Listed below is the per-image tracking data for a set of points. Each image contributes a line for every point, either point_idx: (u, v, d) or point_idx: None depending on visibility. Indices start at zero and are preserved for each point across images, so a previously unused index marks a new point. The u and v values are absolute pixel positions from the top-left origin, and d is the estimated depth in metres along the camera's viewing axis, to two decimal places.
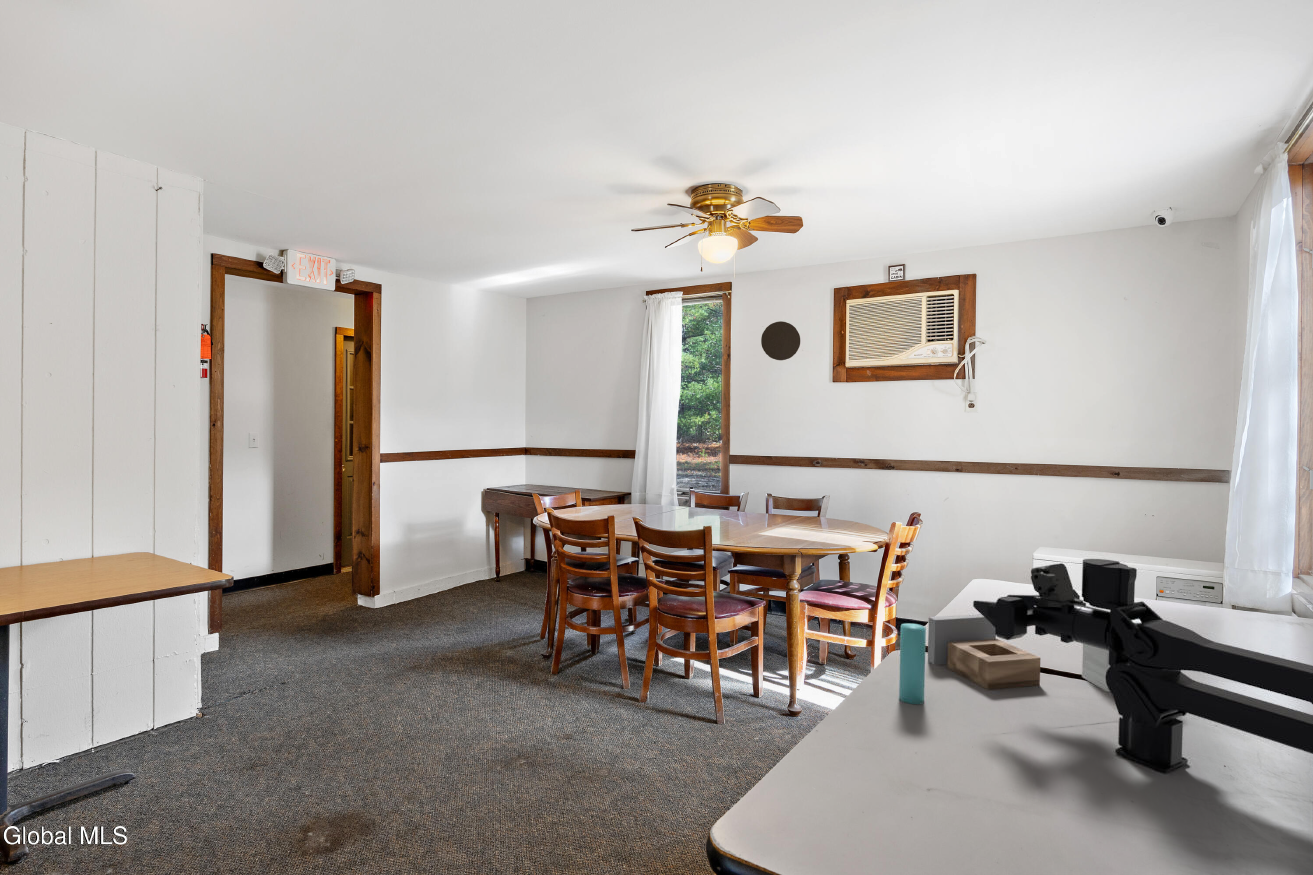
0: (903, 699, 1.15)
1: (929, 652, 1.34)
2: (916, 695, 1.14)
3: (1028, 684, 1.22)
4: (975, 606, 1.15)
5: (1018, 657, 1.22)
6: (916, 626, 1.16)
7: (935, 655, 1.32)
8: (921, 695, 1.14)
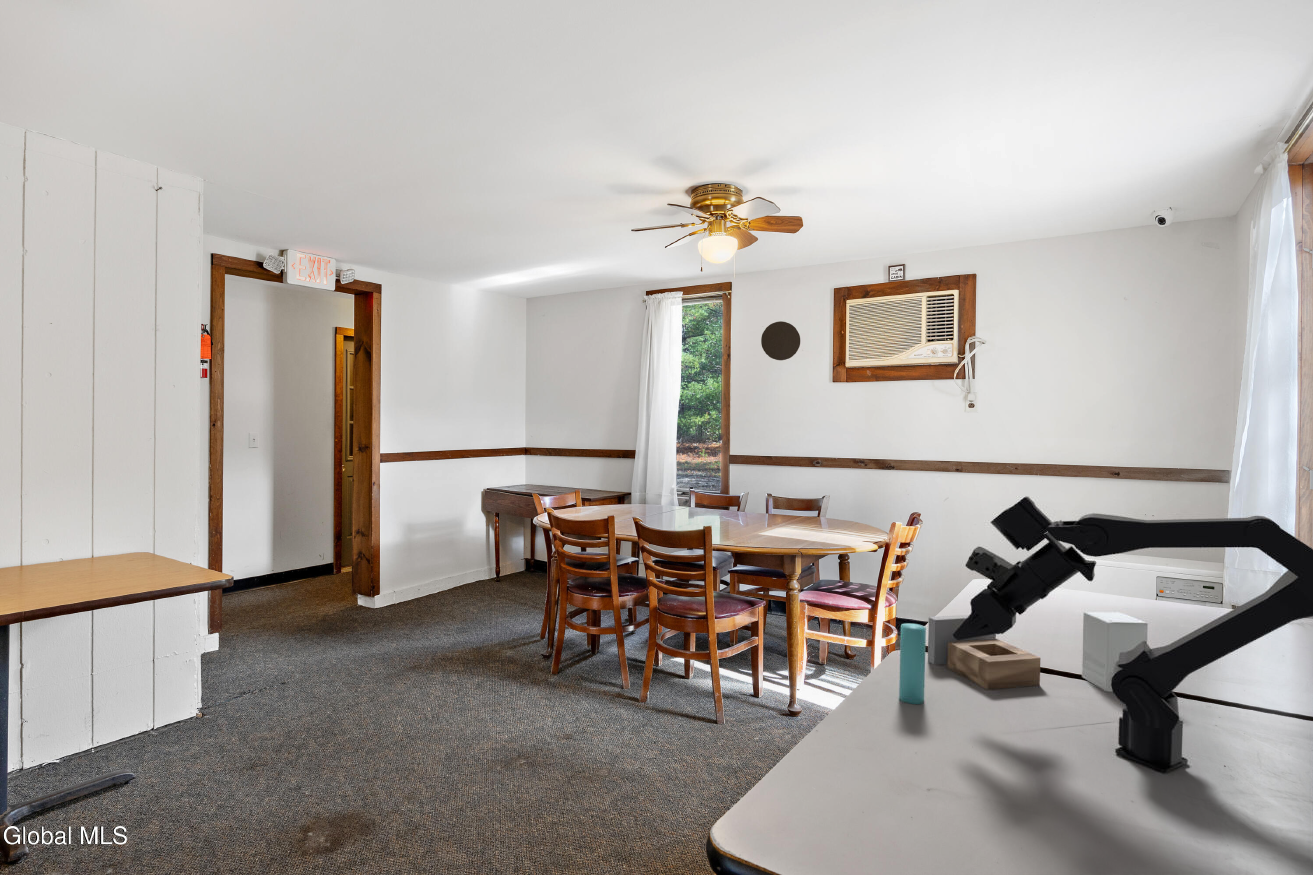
0: (903, 699, 1.15)
1: (929, 652, 1.34)
2: (916, 695, 1.14)
3: (1028, 684, 1.22)
4: (958, 637, 1.07)
5: (1018, 657, 1.22)
6: (916, 626, 1.16)
7: (935, 655, 1.32)
8: (921, 695, 1.14)
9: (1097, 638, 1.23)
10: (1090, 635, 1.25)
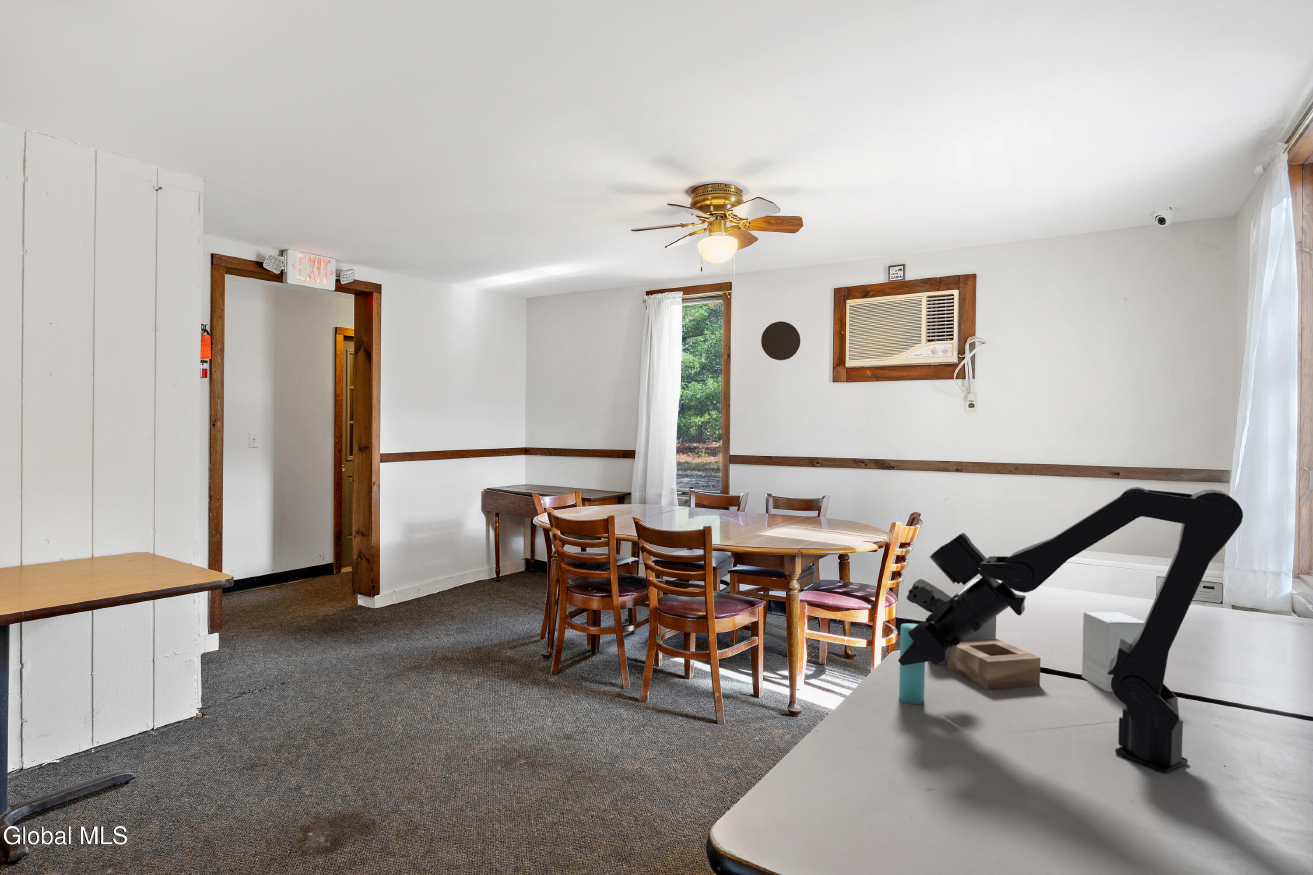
0: (903, 699, 1.15)
1: None
2: (916, 695, 1.14)
3: (1028, 684, 1.22)
4: (903, 663, 1.14)
5: (1018, 657, 1.22)
6: None
7: None
8: (921, 695, 1.14)
9: (1097, 638, 1.23)
10: (1090, 635, 1.25)
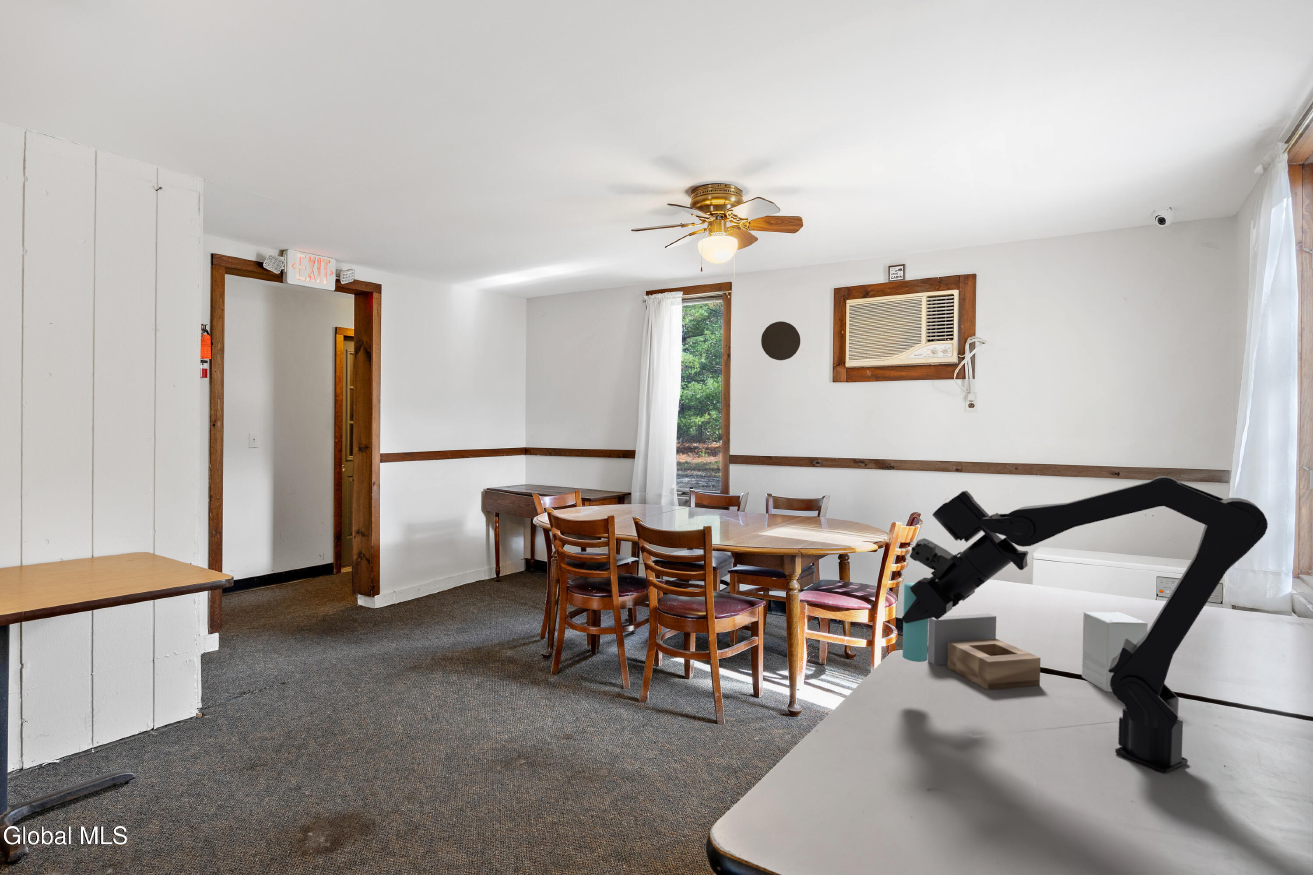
0: (906, 657, 1.16)
1: (929, 652, 1.34)
2: (919, 652, 1.14)
3: (1028, 684, 1.22)
4: (906, 620, 1.15)
5: (1018, 657, 1.22)
6: None
7: (935, 655, 1.32)
8: (924, 653, 1.15)
9: (1097, 638, 1.23)
10: (1090, 635, 1.25)
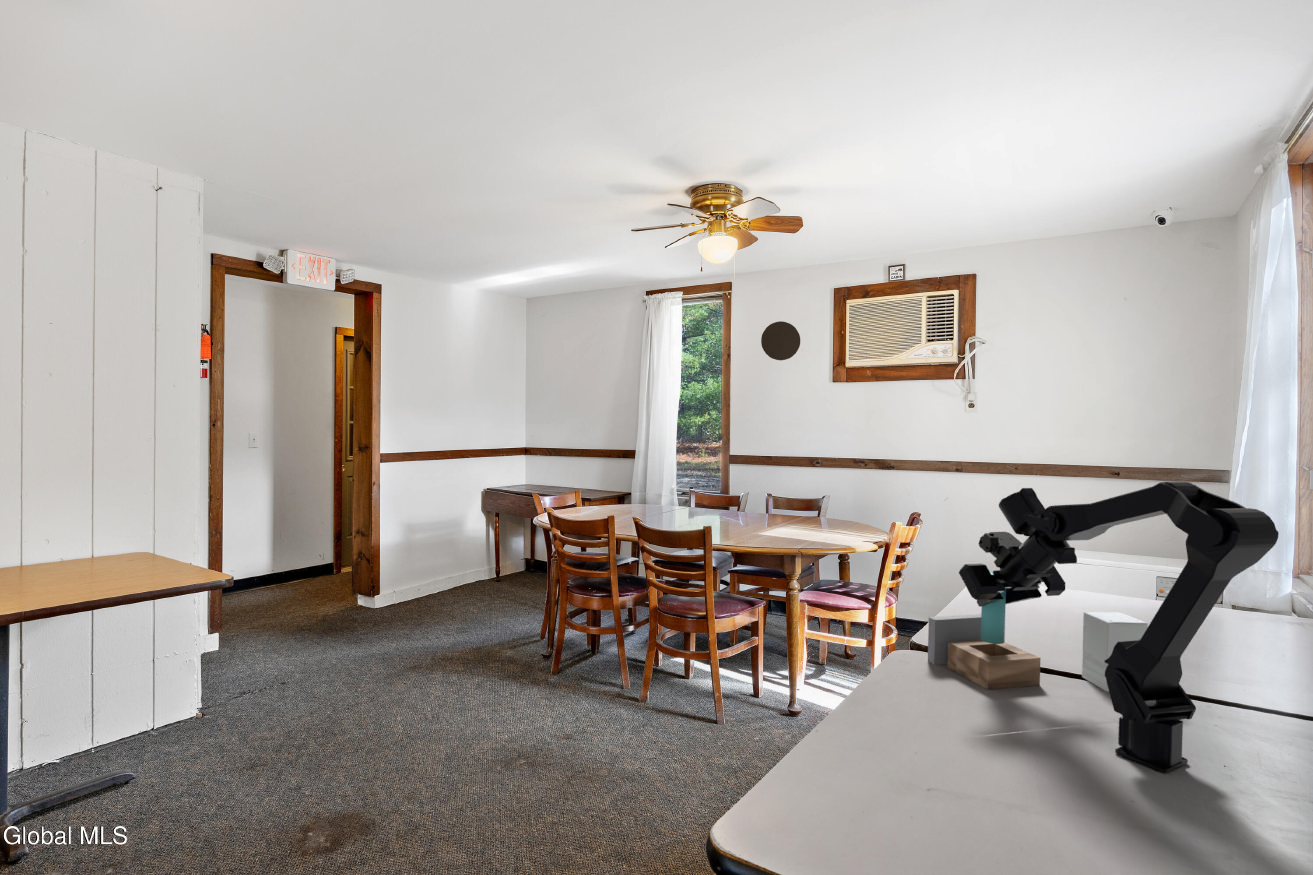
0: (981, 637, 1.27)
1: (929, 652, 1.34)
2: (990, 634, 1.25)
3: (1028, 684, 1.22)
4: (979, 604, 1.27)
5: (1018, 657, 1.22)
6: None
7: (935, 655, 1.32)
8: (996, 636, 1.25)
9: (1097, 638, 1.23)
10: (1090, 635, 1.25)
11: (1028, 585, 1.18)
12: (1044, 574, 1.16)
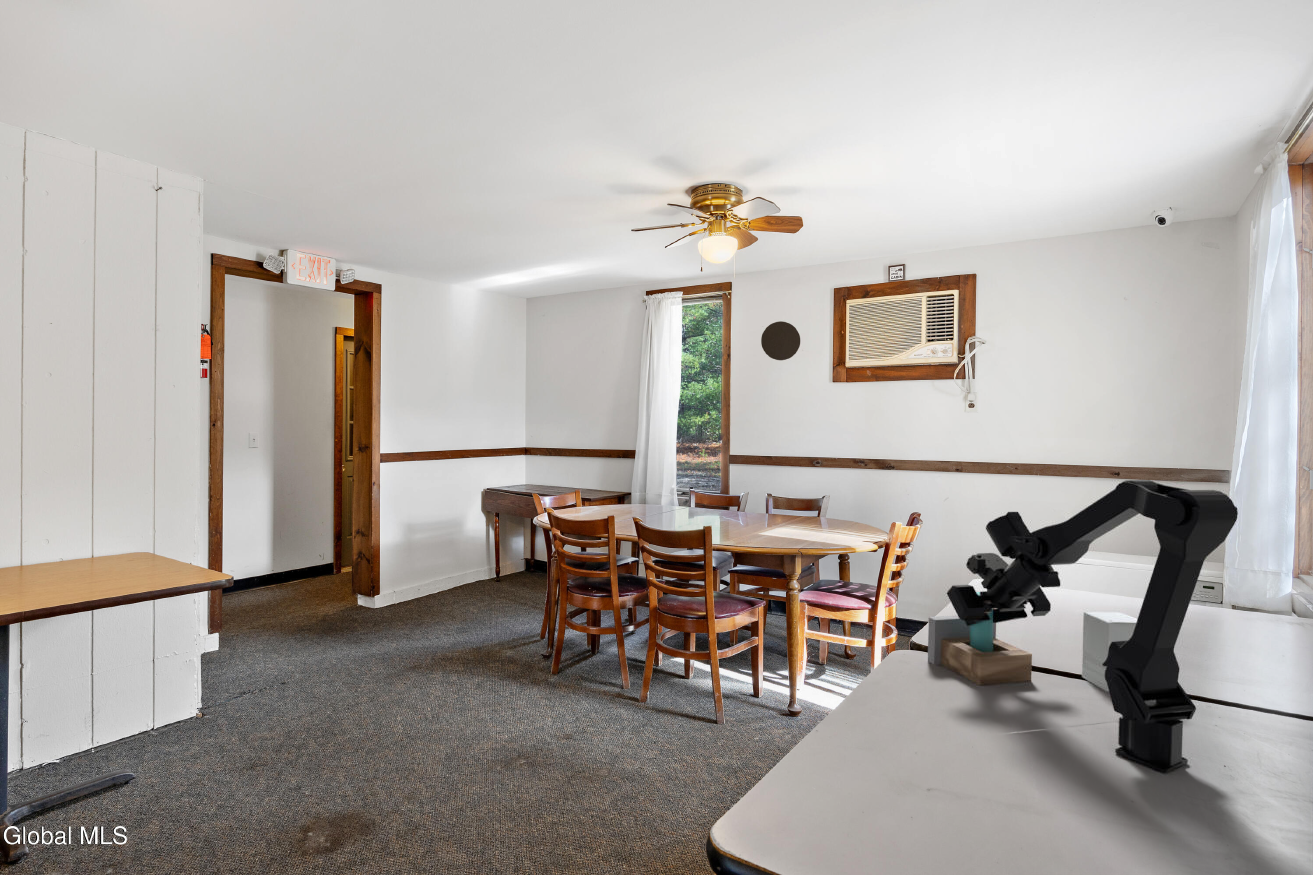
0: None
1: (929, 652, 1.34)
2: None
3: (1020, 680, 1.24)
4: (967, 623, 1.30)
5: (1010, 654, 1.24)
6: None
7: (935, 655, 1.32)
8: None
9: (1097, 638, 1.23)
10: (1090, 635, 1.25)
11: (1014, 606, 1.21)
12: (1029, 596, 1.19)
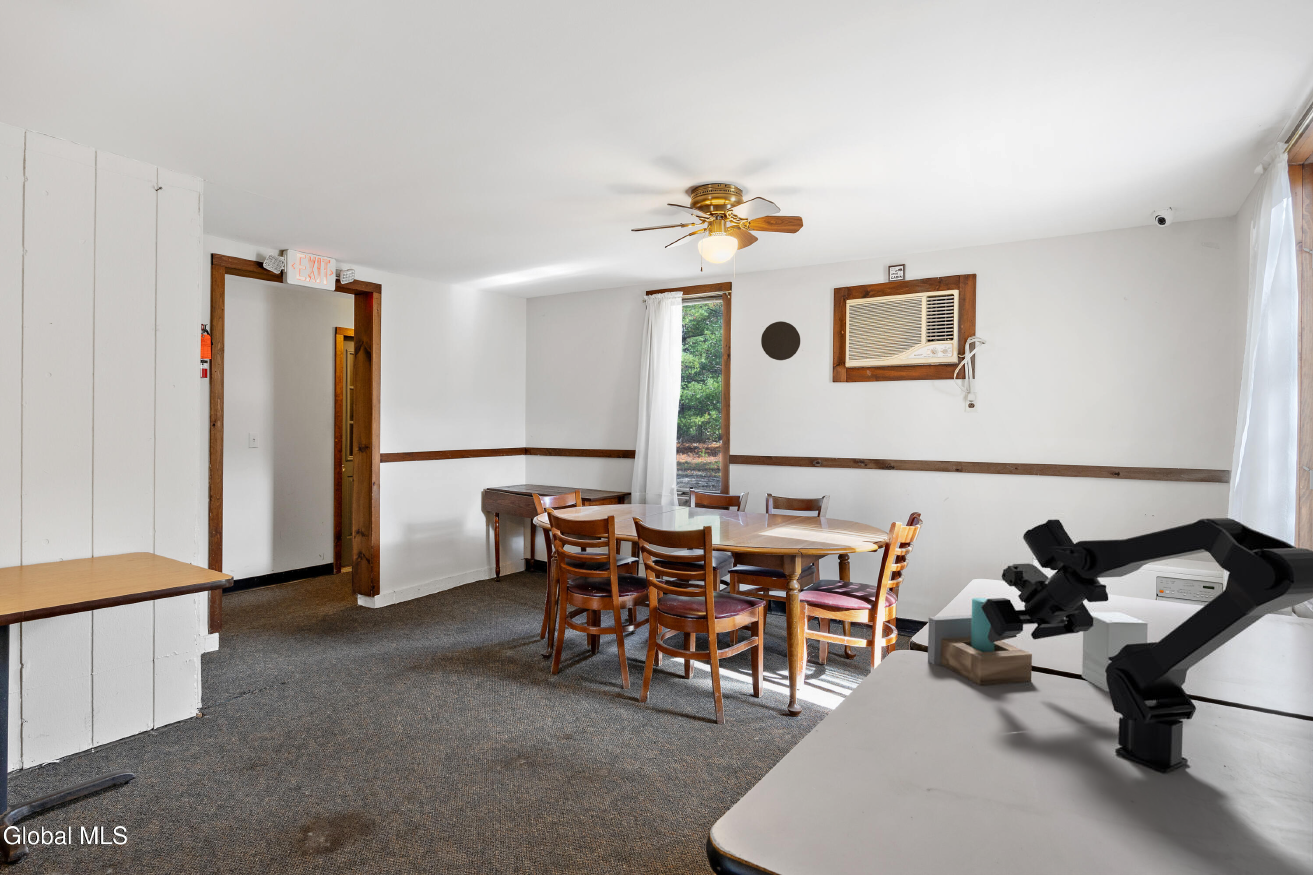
0: None
1: (929, 652, 1.34)
2: None
3: (1020, 680, 1.24)
4: (990, 640, 1.20)
5: (1010, 654, 1.24)
6: None
7: (935, 655, 1.32)
8: None
9: (1098, 638, 1.23)
10: (1090, 635, 1.25)
11: (1055, 622, 1.13)
12: (1072, 611, 1.10)
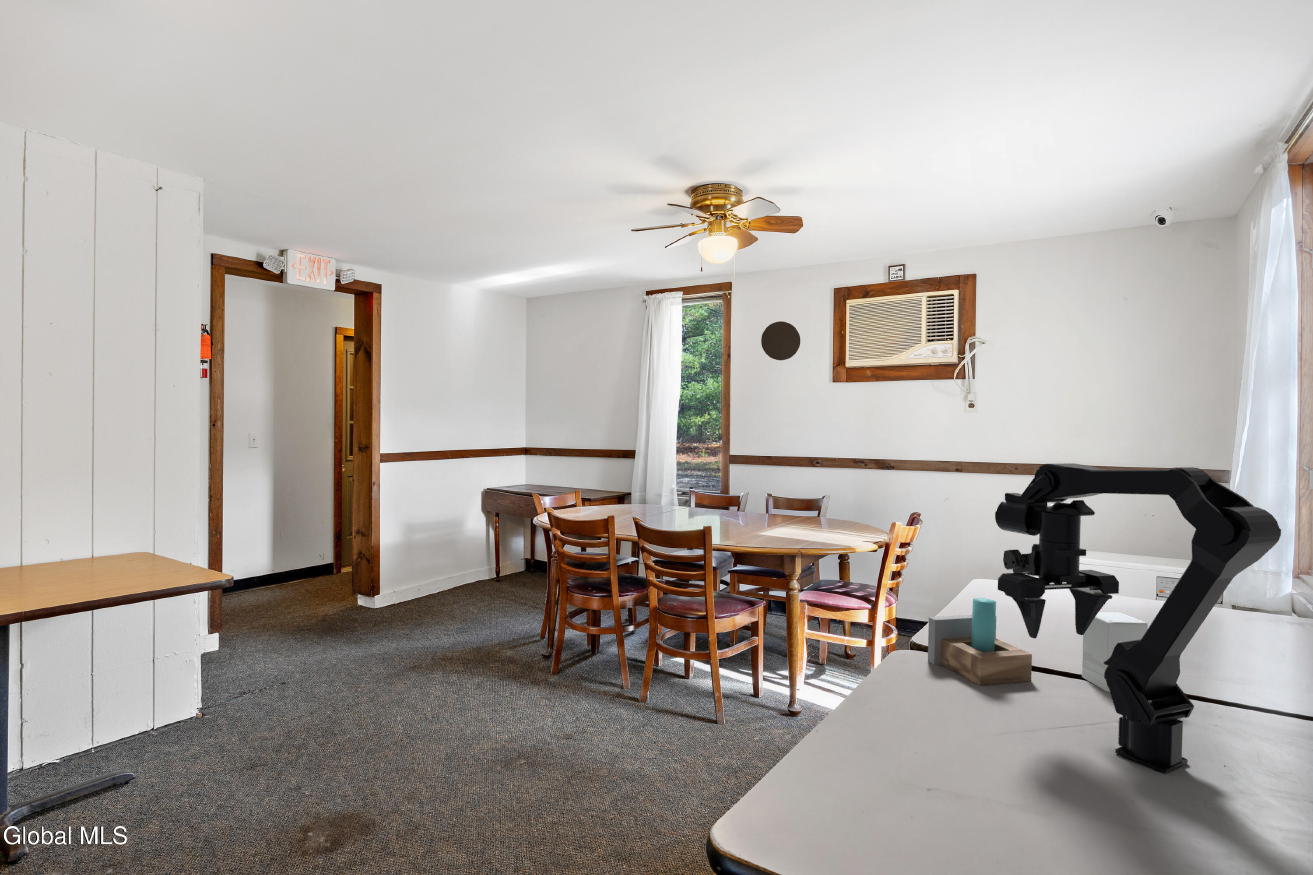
0: None
1: (929, 652, 1.34)
2: None
3: (1020, 680, 1.24)
4: (1032, 634, 1.09)
5: (1010, 654, 1.24)
6: (988, 601, 1.29)
7: (935, 655, 1.32)
8: None
9: (1098, 638, 1.23)
10: (1090, 635, 1.25)
11: (1072, 572, 1.07)
12: (1078, 551, 1.07)
